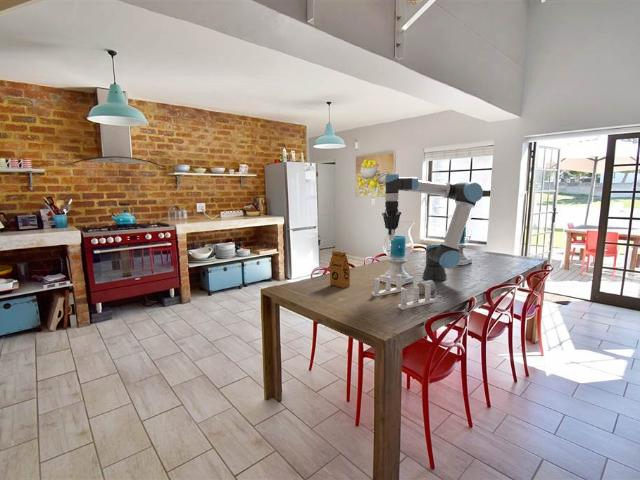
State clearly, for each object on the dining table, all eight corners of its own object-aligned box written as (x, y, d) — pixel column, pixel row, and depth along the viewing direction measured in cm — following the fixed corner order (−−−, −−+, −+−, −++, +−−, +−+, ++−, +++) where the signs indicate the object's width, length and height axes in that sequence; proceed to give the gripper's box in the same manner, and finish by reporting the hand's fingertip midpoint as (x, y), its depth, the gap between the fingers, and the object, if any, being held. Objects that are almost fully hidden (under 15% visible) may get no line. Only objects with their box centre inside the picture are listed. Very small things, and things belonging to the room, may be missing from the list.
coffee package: (341, 289, 199) (340, 254, 195) (327, 285, 208) (327, 251, 205) (352, 286, 205) (352, 251, 202) (339, 282, 214) (338, 249, 211)
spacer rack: (400, 289, 196) (400, 273, 195) (433, 302, 173) (434, 285, 171) (371, 294, 187) (371, 278, 186) (402, 309, 164) (402, 291, 162)
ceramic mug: (415, 292, 189) (416, 280, 188) (427, 291, 192) (428, 278, 190) (427, 298, 179) (428, 285, 178) (439, 296, 182) (440, 283, 180)
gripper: (386, 201, 186) (386, 242, 190) (404, 200, 192) (404, 240, 195) (378, 200, 193) (378, 240, 196) (396, 200, 198) (396, 238, 202)
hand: (391, 240), depth 196 cm, fingers closed
